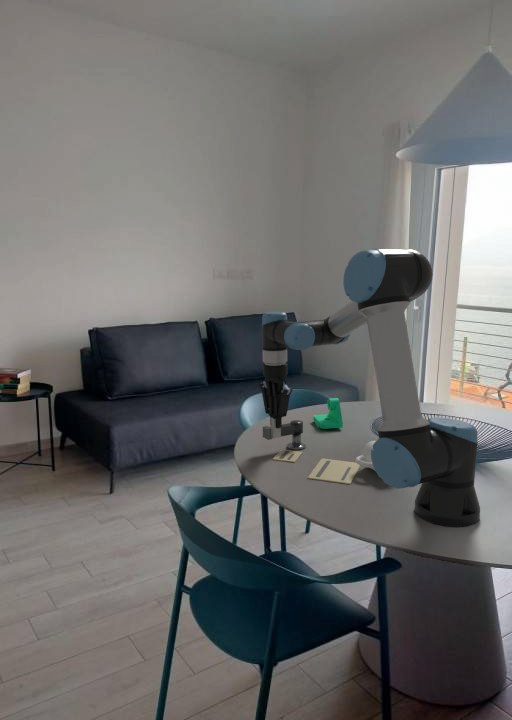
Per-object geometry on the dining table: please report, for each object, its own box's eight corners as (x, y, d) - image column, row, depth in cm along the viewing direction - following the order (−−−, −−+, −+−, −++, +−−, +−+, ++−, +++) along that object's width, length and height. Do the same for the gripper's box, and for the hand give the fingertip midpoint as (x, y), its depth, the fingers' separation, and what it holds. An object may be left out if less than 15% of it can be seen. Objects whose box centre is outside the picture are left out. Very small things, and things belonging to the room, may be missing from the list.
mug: (383, 464, 174) (384, 438, 173) (403, 476, 165) (405, 449, 164) (348, 470, 170) (349, 444, 168) (368, 482, 161) (369, 455, 159)
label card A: (294, 462, 176) (294, 461, 176) (272, 459, 178) (272, 458, 178) (302, 452, 184) (303, 451, 184) (281, 450, 186) (281, 449, 186)
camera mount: (312, 421, 217) (312, 395, 215) (332, 420, 218) (332, 394, 216) (321, 431, 205) (322, 403, 203) (342, 430, 207) (343, 402, 205)
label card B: (350, 484, 159) (350, 483, 159) (307, 478, 164) (307, 477, 163) (361, 464, 174) (361, 462, 174) (321, 459, 178) (321, 458, 178)
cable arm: (298, 429, 191) (298, 419, 190) (305, 433, 188) (305, 422, 187) (262, 436, 184) (262, 426, 184) (268, 440, 181) (268, 429, 180)
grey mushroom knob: (302, 451, 185) (302, 437, 185) (284, 448, 188) (284, 435, 187) (307, 445, 191) (308, 431, 190) (290, 443, 193) (290, 429, 192)
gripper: (298, 364, 175) (299, 439, 179) (270, 358, 185) (271, 430, 189) (279, 367, 170) (280, 445, 175) (252, 361, 180) (253, 435, 185)
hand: (276, 437), depth 182 cm, fingers closed
